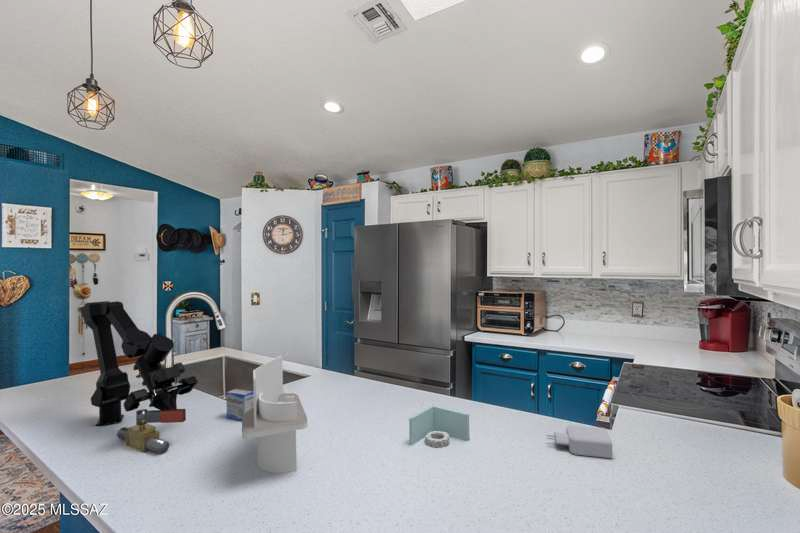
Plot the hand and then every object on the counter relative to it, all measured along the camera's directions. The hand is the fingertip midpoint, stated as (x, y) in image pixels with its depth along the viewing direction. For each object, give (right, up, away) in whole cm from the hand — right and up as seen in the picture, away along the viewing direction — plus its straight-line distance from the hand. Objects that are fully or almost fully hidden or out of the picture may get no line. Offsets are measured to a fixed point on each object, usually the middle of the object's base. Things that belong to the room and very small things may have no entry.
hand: (175, 416), depth 112 cm
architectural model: (+32, -7, -9) cm, 34 cm away
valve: (-8, -7, -2) cm, 11 cm away
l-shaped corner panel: (+75, -7, -2) cm, 75 cm away
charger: (+110, -6, -7) cm, 111 cm away
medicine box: (+11, -7, +17) cm, 22 cm away
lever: (-3, -1, -2) cm, 4 cm away
